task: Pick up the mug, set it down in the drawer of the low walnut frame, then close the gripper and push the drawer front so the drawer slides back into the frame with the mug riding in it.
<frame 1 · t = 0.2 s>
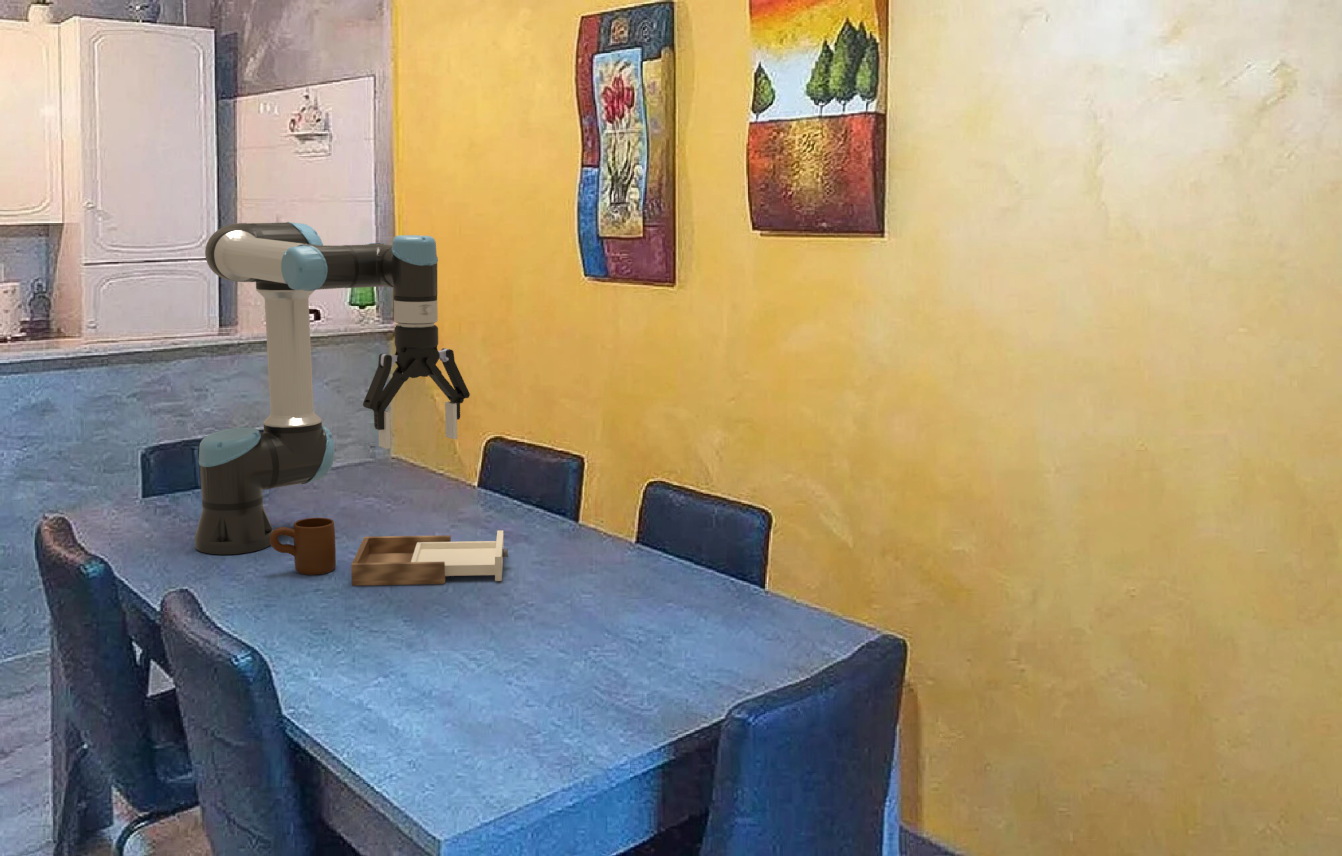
hand: (418, 442, 215), 28 cm above the table, fingers open, 13 cm apart
frame: (408, 569, 232), on the table
drawer: (460, 555, 232), point 3 cm above the table, slide at 9.0 cm
mug: (304, 572, 229), on the table
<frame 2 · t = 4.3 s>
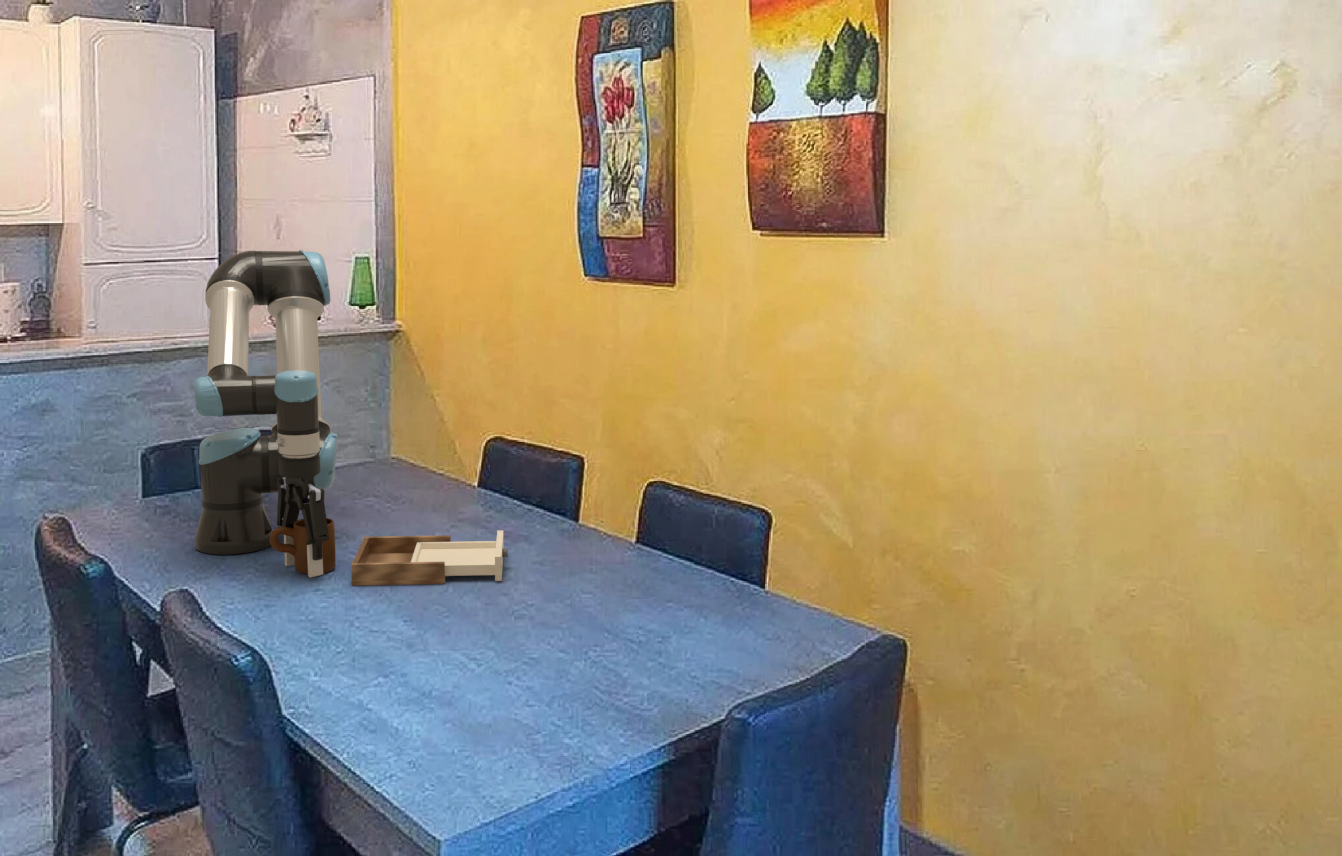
hand: (303, 569, 229), 0 cm above the table, fingers open, 8 cm apart
mug: (303, 571, 230), on the table, touching gripper
everything else where it was.
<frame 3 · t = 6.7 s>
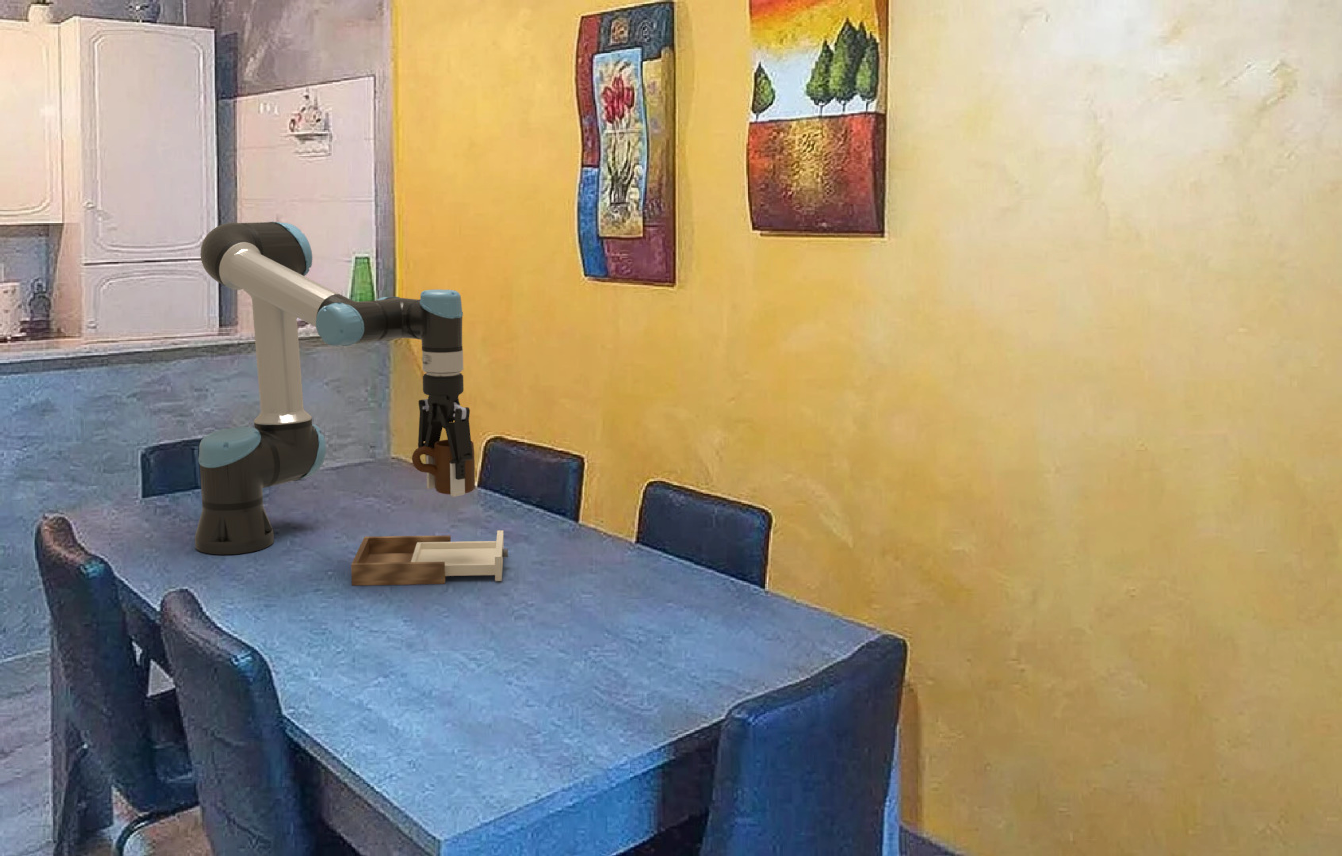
hand: (445, 491, 229), 16 cm above the table, fingers closed on mug, 7 cm apart
mug: (444, 492, 230), point 15 cm above the table, touching gripper
everything else where it was.
when the fingers open (3 cm above the table, at t = 9.1 s): mug stays where it is, resting on drawer.
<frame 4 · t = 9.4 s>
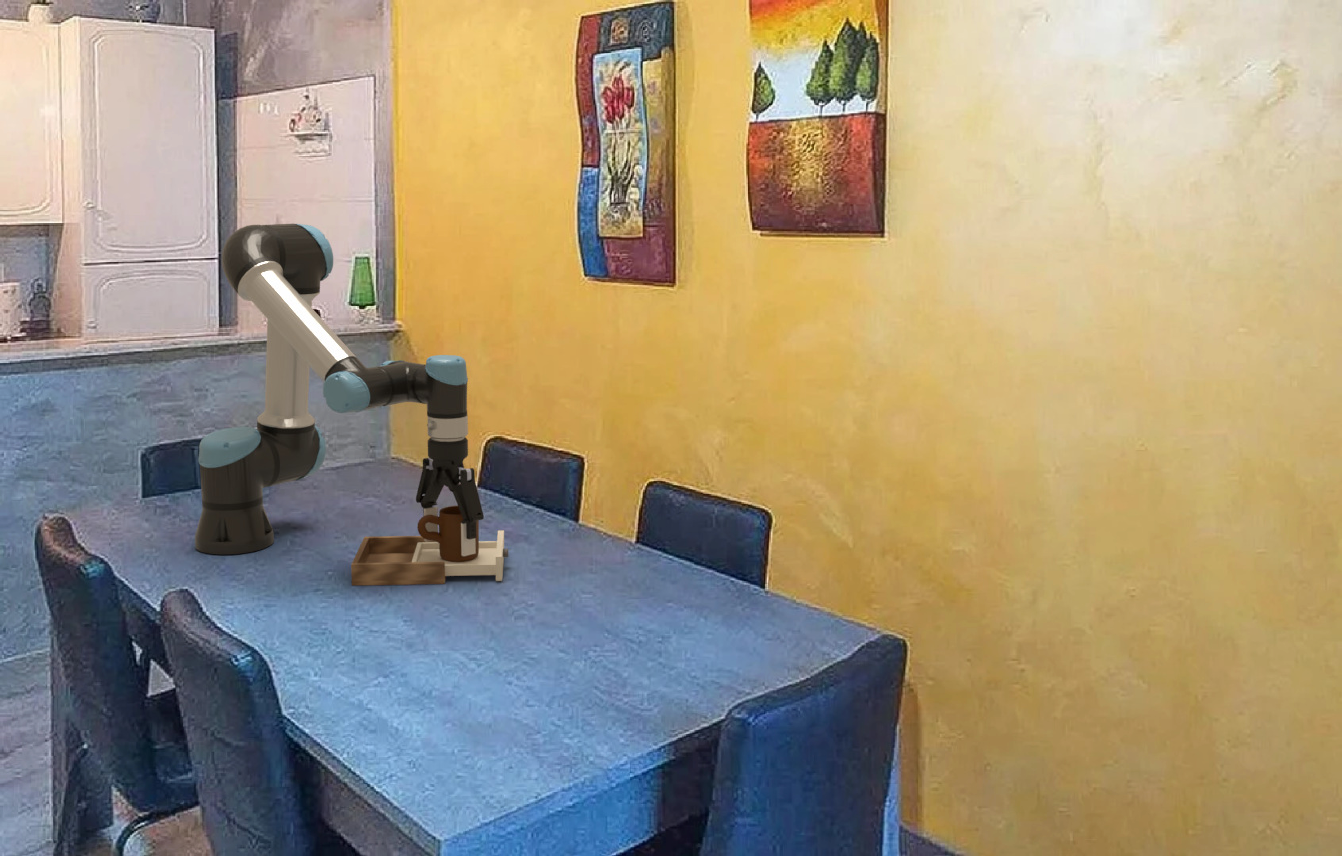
hand: (449, 547, 232), 4 cm above the table, fingers open, 12 cm apart
drawer: (461, 555, 232), point 3 cm above the table, slide at 9.1 cm, touching mug
mug: (448, 559, 233), point 2 cm above the table, touching drawer
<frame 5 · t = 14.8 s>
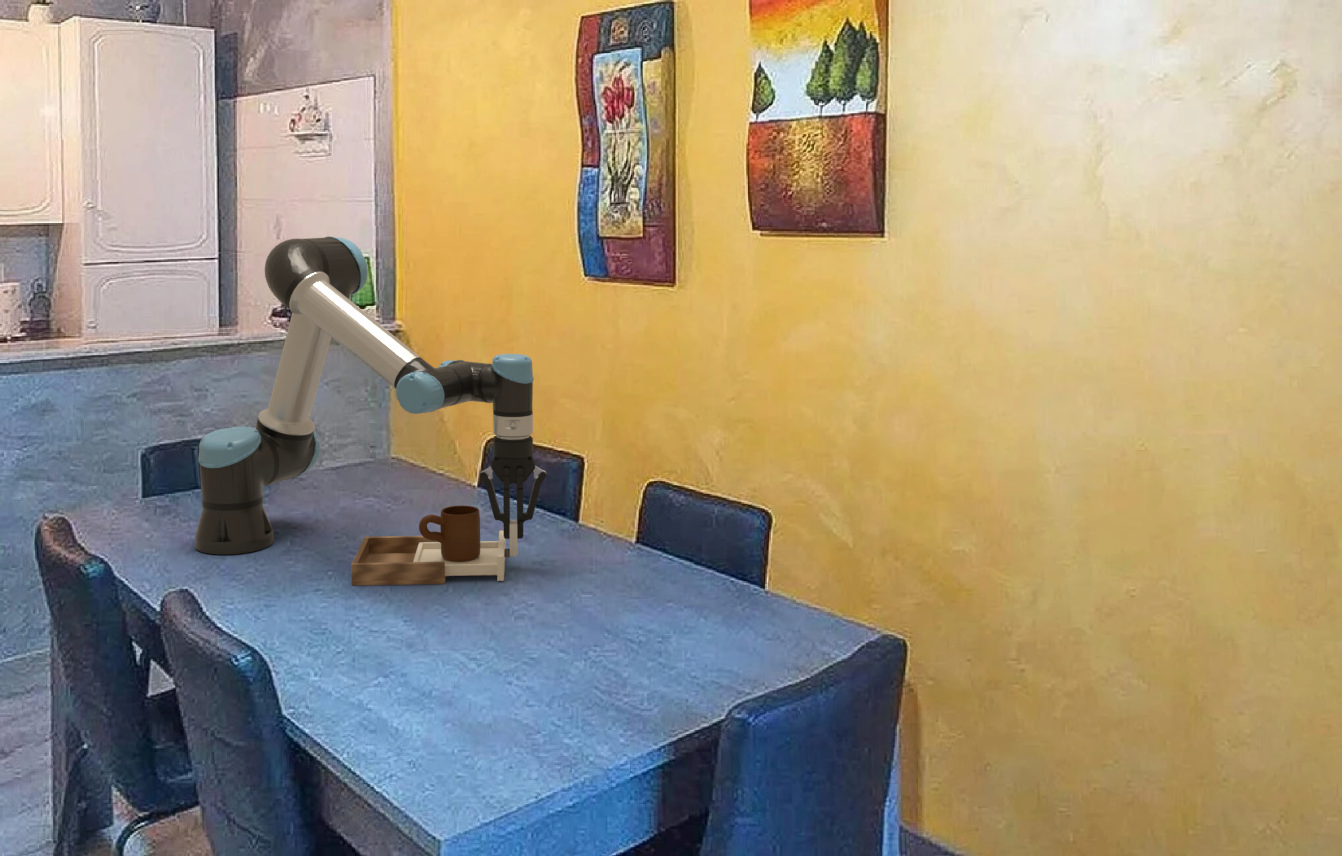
hand: (513, 554, 234), 3 cm above the table, fingers closed
drawer: (463, 555, 232), point 3 cm above the table, slide at 9.4 cm, touching gripper, mug
everything else where it was.
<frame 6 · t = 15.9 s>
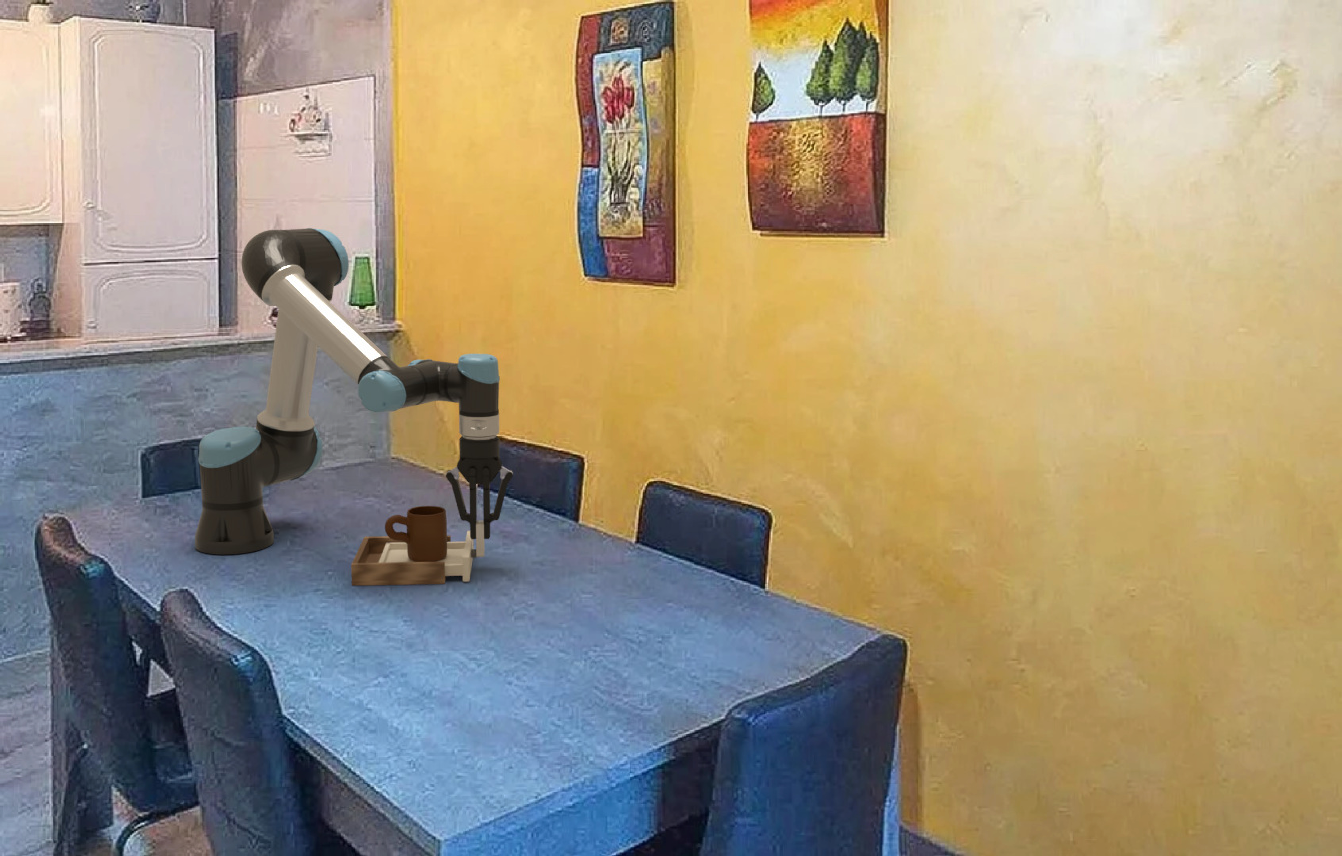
hand: (480, 554, 233), 3 cm above the table, fingers closed
drawer: (429, 555, 232), point 3 cm above the table, slide at 3.0 cm, touching gripper, mug
mug: (416, 559, 232), point 2 cm above the table, touching drawer
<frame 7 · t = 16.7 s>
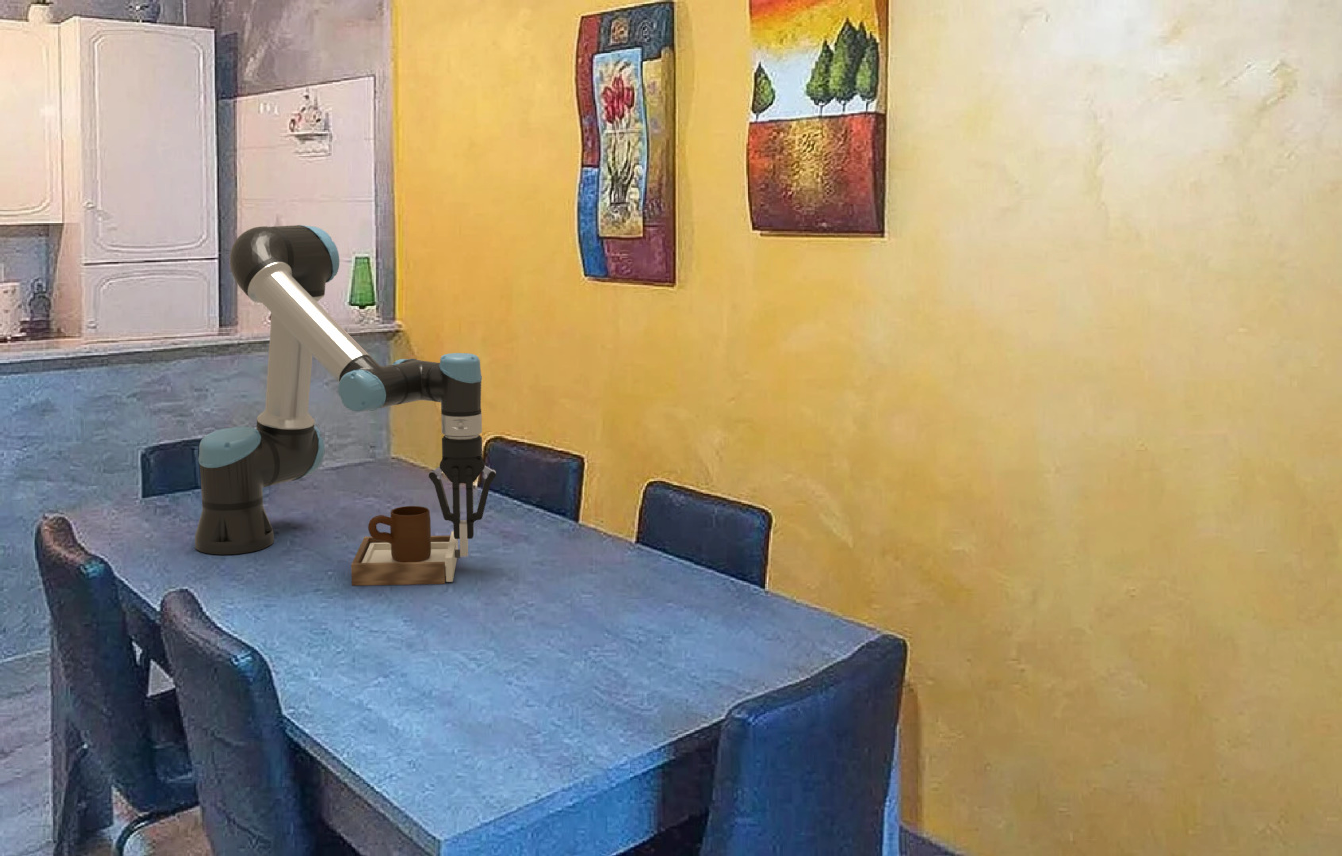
hand: (464, 554, 233), 3 cm above the table, fingers closed
drawer: (413, 556, 231), point 3 cm above the table, slide at -0.1 cm, touching gripper, mug
mug: (400, 560, 232), point 2 cm above the table, touching drawer
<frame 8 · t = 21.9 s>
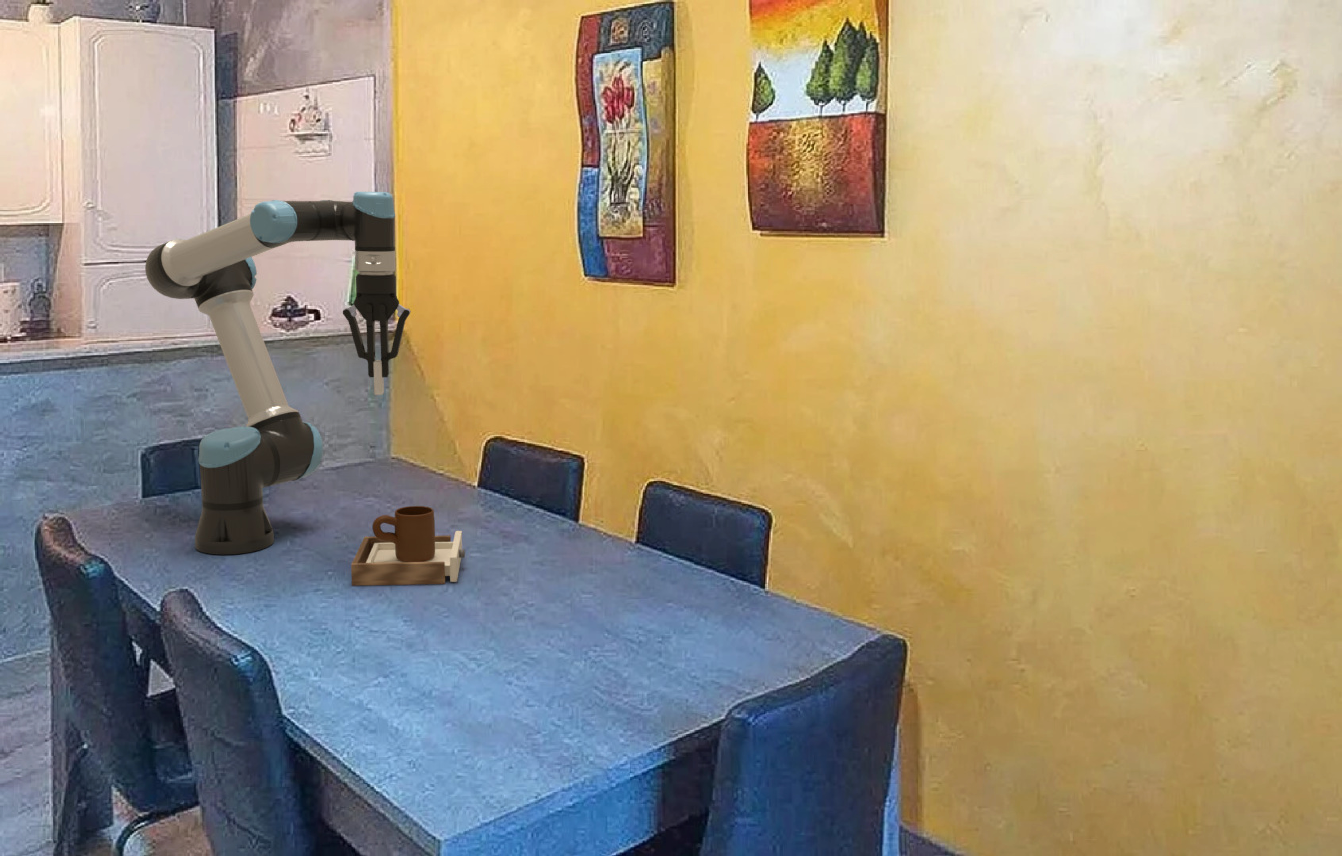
hand: (379, 393, 236), 32 cm above the table, fingers closed
drawer: (417, 555, 231), point 3 cm above the table, slide at 0.7 cm, touching mug
everything else where it was.
at the end: drawer slide at 0.7 cm; mug 0.9 cm from the frame (horizontally); mug tilted 0° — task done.
